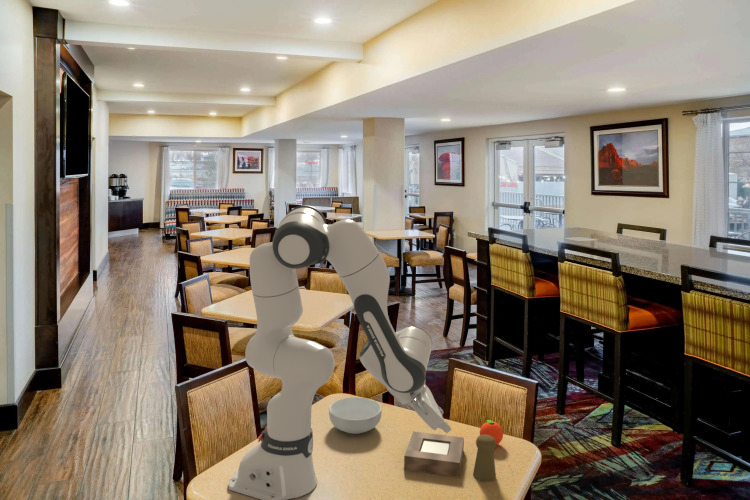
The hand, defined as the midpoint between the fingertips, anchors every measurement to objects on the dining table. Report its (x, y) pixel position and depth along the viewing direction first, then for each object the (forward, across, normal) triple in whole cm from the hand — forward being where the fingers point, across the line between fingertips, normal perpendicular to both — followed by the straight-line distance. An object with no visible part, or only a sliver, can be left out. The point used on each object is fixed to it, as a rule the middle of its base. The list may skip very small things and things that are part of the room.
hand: (444, 421), depth 142 cm
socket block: (+11, +10, +11) cm, 19 cm away
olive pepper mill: (+20, +1, +3) cm, 20 cm away
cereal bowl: (-4, +30, +27) cm, 41 cm away
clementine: (+24, +19, -2) cm, 31 cm away
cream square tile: (+9, +10, +10) cm, 17 cm away
